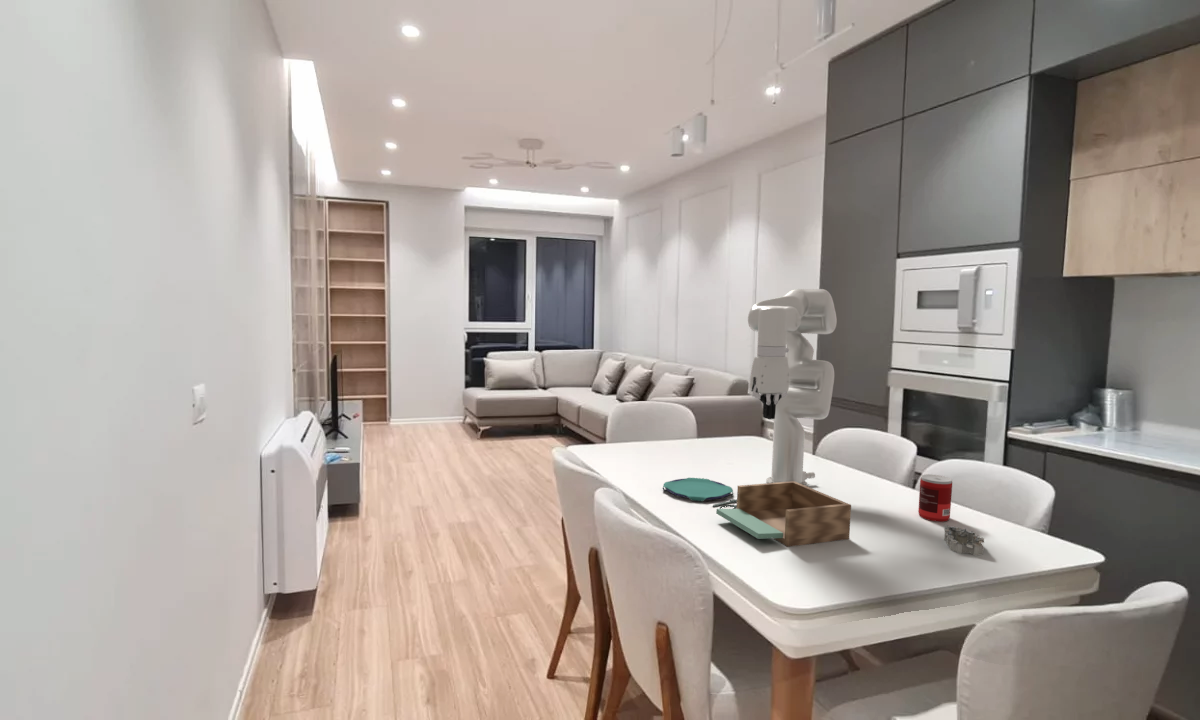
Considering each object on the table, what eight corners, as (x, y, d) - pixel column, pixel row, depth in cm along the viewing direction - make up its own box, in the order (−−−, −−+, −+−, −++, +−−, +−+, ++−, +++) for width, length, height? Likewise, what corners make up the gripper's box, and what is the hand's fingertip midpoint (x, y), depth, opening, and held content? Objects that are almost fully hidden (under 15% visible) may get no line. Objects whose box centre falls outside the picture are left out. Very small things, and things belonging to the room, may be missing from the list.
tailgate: (739, 508, 163) (716, 508, 161) (783, 533, 145) (758, 533, 143) (739, 513, 163) (716, 513, 161) (782, 538, 146) (757, 538, 143)
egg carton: (984, 558, 141) (986, 541, 141) (947, 552, 144) (948, 535, 144) (977, 542, 151) (978, 526, 150) (942, 537, 154) (943, 521, 153)
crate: (792, 511, 171) (794, 481, 170) (849, 539, 150) (851, 504, 150) (736, 516, 165) (737, 485, 164) (787, 546, 144) (789, 511, 144)
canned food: (948, 515, 171) (951, 476, 170) (951, 524, 163) (954, 483, 163) (917, 511, 174) (919, 472, 173) (918, 519, 167) (921, 479, 166)
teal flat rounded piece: (698, 480, 201) (698, 473, 200) (772, 507, 176) (772, 499, 176) (651, 490, 189) (651, 482, 189) (723, 520, 165) (723, 511, 165)
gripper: (785, 350, 175) (783, 414, 177) (740, 351, 170) (738, 417, 172) (802, 352, 168) (800, 419, 170) (755, 354, 163) (753, 422, 165)
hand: (768, 418), depth 171 cm, fingers closed
